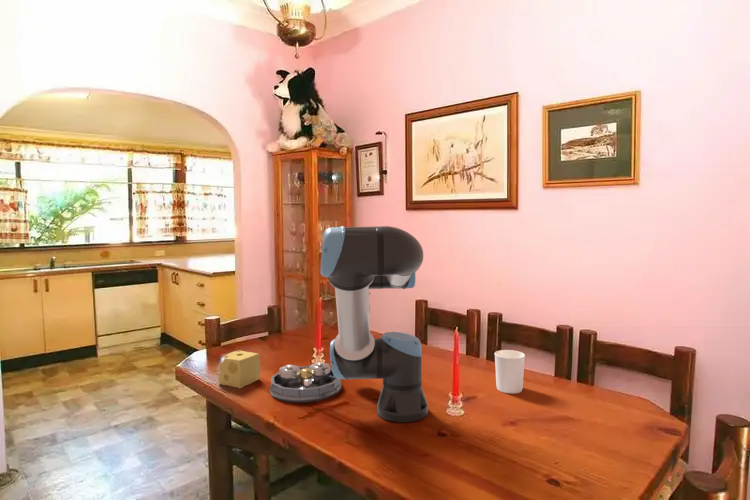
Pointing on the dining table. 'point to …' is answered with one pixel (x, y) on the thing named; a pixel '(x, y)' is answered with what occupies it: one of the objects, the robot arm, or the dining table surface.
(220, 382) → the cheese
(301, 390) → the carrier
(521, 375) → the white tapered cup
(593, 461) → the dining table surface
